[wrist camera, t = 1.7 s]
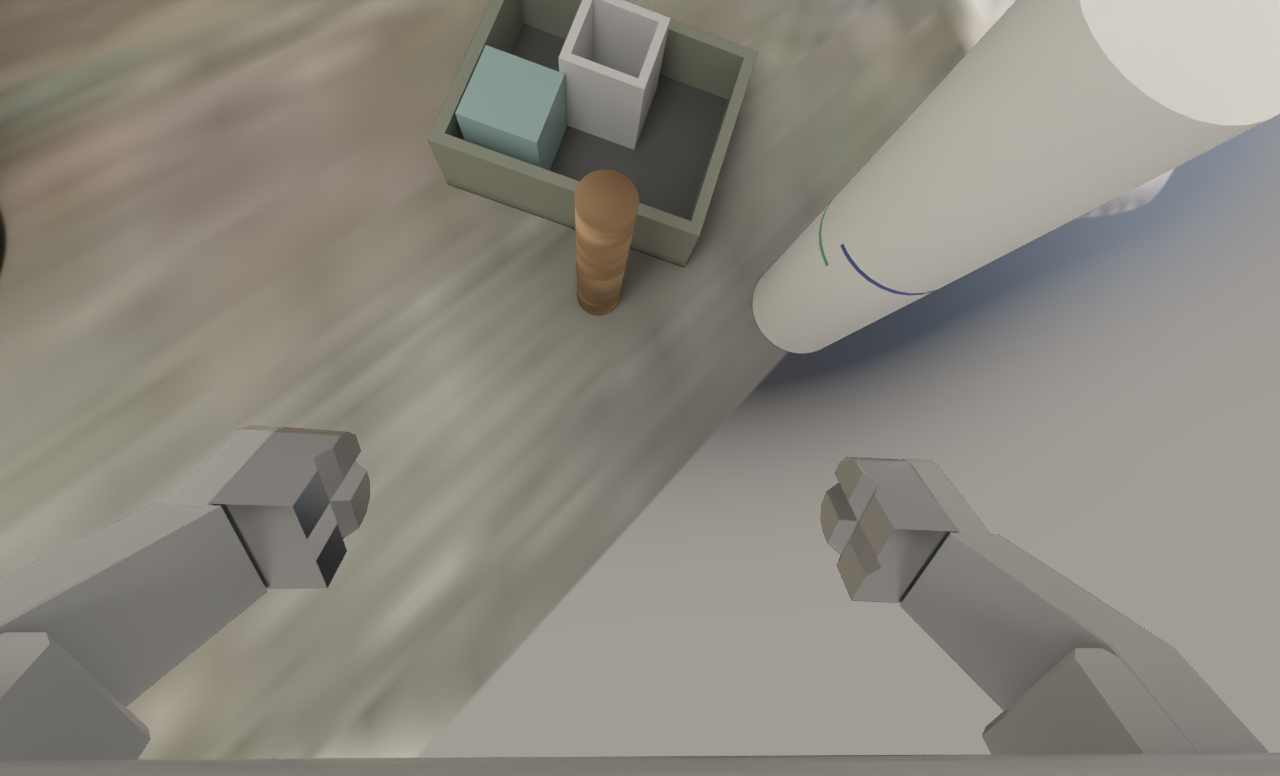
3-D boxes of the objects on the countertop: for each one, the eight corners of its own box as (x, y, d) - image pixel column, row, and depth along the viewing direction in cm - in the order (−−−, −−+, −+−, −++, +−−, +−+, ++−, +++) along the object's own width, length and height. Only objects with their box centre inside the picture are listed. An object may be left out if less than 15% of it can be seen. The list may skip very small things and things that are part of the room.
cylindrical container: (788, 371, 37) (1196, 172, 12) (733, 291, 37) (1022, -53, 13) (861, 322, 38) (1363, 55, 14) (808, 245, 39) (1198, -145, 14)
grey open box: (448, 184, 36) (416, 117, 29) (518, 22, 39) (505, -73, 32) (683, 267, 37) (706, 221, 30) (736, 103, 40) (768, 27, 33)
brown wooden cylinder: (571, 307, 36) (565, 216, 23) (585, 269, 36) (586, 160, 24) (611, 320, 36) (627, 238, 23) (624, 283, 37) (647, 182, 24)
